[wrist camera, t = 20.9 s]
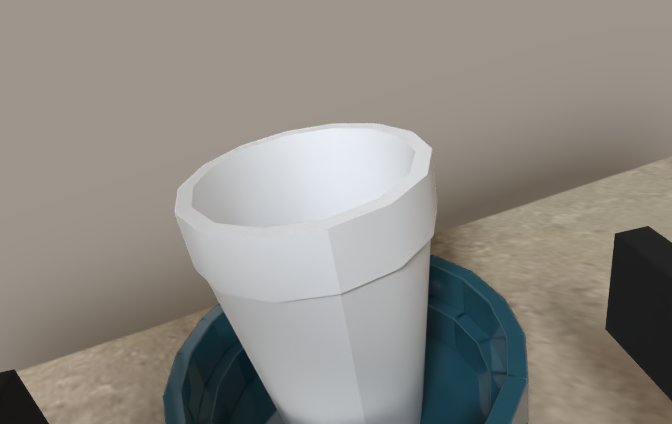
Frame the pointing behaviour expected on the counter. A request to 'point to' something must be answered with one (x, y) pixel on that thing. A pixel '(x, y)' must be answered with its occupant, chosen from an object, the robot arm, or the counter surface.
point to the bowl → (439, 371)
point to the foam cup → (322, 265)
